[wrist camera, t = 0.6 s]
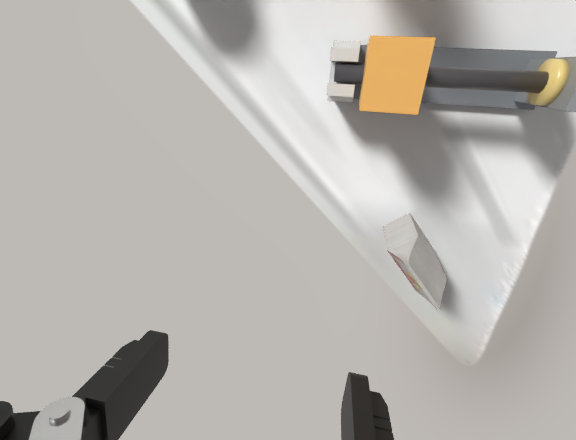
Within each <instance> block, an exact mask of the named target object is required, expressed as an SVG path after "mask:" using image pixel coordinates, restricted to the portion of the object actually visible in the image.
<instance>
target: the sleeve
mask: <svg viewBox="0 0 576 440" xmlns="http://www.w3.org/2000/svg"><path fill="white" fill-rule="evenodd" d="M435 40H436V37H402V36H370V38H369V41H368V44H367V48H366V55H365V62H364V64H365V67H364V74H363V81H362V84H361V90H360V97H359V109H360V111H371V112H385V113H399V114H414V115H418V112H419V108H420V104H421V99H422V95H423V91H424V87H425V82H426V78H427V74H428V69H429V65H430V61H431V57H432V52H433V48H434V44H435Z"/></svg>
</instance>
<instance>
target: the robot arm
mask: <svg viewBox="0 0 576 440" xmlns="http://www.w3.org/2000/svg"><path fill="white" fill-rule="evenodd" d="M167 366H168V335H167V334H166V333H161V332H156V331H152V330H150V331H148V332H147V333H146V334H145V335H144V336H143V337H142V338H141V339H140V340H139V341H137V340H134V341H132V342H130V343H128V344H127V345H125V346H123V347H122V348H121V349H120V350H119V351H118V352H117V353H116V354H115V355H114V356H113V357H112V358H111V359H110V360H109V361H108V362H107V363H106V364H105V366H103V367H102V368H101V369H100V370H98V371H97V373H95V374H94V375H93V376H92V377H91V378H90V379H89V380H88V382H86V383H85V385H83V387H81V388H80V389H79V390H78V391H77V393H75V394H74V395H73V396H72V397H66V398H63V399H59V400H57V401H55V402H53V403H51V404H49V405H48V406H46V407H45V408H44V409H43V410H42V411H37V412H24V413H13V408H12V405H11V404H10V403H8V402H4V401H0V440H118V439H119V438H120V436H121V435H122V434H123V432H124V431H125V429H126V428H127V426H128V425H129V424H130V422H131V421H132V420H133V418H134V417H135V415H136V414H137V412H138V411H139V410H140V408H141V407H142V406H143V404H144V403H145V401H146V400H147V399H148V397H149V396H150V394H151V393H152V392H153V390H154V389H155V387H156V386H157V385H158V383H159V382H160V380H161V379H162V377H163V376H164V374H165V372H166V370H167ZM341 438H342V440H394V438H393V433H392V428H391V422H390V417H389V412H388V407H387V404H386V403H385V401H384V399H383V398H382V396H381V394H380V393H377V392H372V391H370V390H369V382H368V377H367V376H365V375H360V374H356V373H351V372H349V373H348V377H347V382H346V387H345V391H344V396H343V401H342V409H341Z"/></svg>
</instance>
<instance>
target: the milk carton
mask: <svg viewBox="0 0 576 440" xmlns="http://www.w3.org/2000/svg"><path fill="white" fill-rule="evenodd" d="M383 227H384V233H385V239H386V246H387V251H388V252H389V253H390V255H391V256H392V258H393V259H394V260H395V262H396V263H397V265H398V266H399V267H400V269H401V270H402V272H403V273H404V275H405V276H406V277H407V279H408V280H409V282H410V283H411V284H412V286H413V287H414V289H415V290H416V291H417V292H418V293H419V294H421V295H422V296H423V297H424V298H426V299H427V300H428V301H429V302H430V303H431V304H432V305H433V306H434V307H435V308H436V306H437V307H438V308H439V309H440V310H441V300H442V296H443V292H444V289H445V285H446V282H447V278H446V276H445V273H444V271H443V269H442V266H441V264H440V261H439V259H438V257H437V254H436V252H435V250H434V249H433V247H432V246H431V244H430V243H429V241H428V240H427V238H426V237H425V235H424V234H423V232H422V231H421V229H420V228H419V226H418V225H417V223H416V221H415V220H414V218H413V217H412V215H411V214H410V213H408V214H407V215H405V216H403V217H401V218H399V219H397V220H395V221H393V222H391V223H389V224H387V225H385V226H383ZM436 310H437V308H436Z"/></svg>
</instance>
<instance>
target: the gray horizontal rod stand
mask: <svg viewBox="0 0 576 440" xmlns="http://www.w3.org/2000/svg"><path fill="white" fill-rule="evenodd" d="M360 44H361V41H333V47H331V55H330V61H331V70H330V81H329V83H328V86H327V95H328V101H339V102H353V98H355V99H359V97H360V90H361V84H362V81H363V74H364V67H365V64H364V62H365V55H366V48H367V45H360ZM556 54H557V52H556V51H525V50H495V49H465V48H435V47H434V48H433V52H432V57H431V61H430V65H429V69H428V74H427V78H426V82H425V87H424V91H423V95H422V99H421V103H434V104H450V105H466V106H482V107H498V108H514V109H530V110H534V108H535V105H537V106H542V107H547V108H552V109H556V110H561V111H569V112H576V57H564V58H555V56H556Z"/></svg>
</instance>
